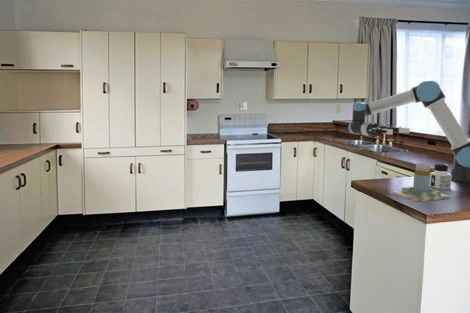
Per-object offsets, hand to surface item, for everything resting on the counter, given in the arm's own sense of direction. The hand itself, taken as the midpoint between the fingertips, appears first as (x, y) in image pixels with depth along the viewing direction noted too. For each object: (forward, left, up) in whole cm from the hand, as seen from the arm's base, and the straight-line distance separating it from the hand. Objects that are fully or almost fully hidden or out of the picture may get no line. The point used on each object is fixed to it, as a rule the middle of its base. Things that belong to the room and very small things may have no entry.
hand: (400, 131), depth 207 cm
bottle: (+6, +23, -29) cm, 38 cm away
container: (-18, +11, -30) cm, 37 cm away
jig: (+6, +23, -30) cm, 38 cm away
